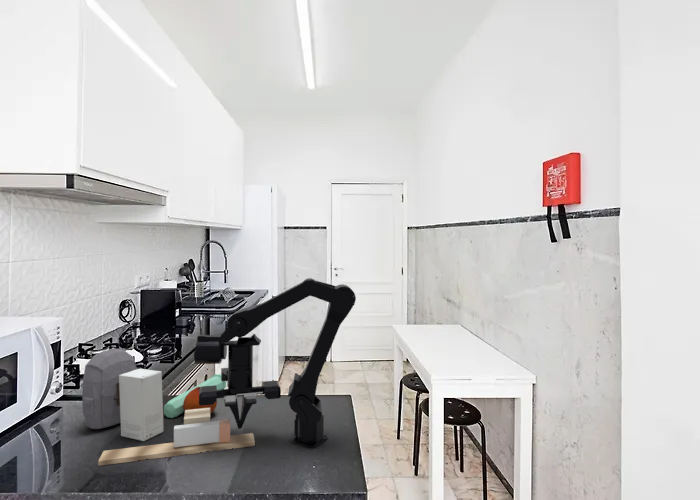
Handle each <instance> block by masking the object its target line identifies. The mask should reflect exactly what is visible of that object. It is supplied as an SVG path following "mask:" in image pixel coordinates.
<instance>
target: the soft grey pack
mask: <svg viewBox="0 0 700 500" xmlns="http://www.w3.org/2000/svg"><path fill="white" fill-rule="evenodd" d="M136 369H138V368H137V365H136V362H135V357H134V356H133V355H131V354H130V353H129V352H127V351H125V350H124V349H122V348H110V349H107V350H102V351H100V352H98V353H97V354H94V355H93V356H92V357H91V358H90V360H89V361H88V362H86V364H85V366H84V373H83V378H82V393H81V394H82V395H81V398H82V399H81V400H82V414H83V417H84V421H85V422H86V424H87V427H88V428H89V429H91V430H101V429H105V428H109V427H111V426H116V425H118V424H121V417H120V390H119V375H121V374H124V373H128V372H131V371H133V370H136Z"/></svg>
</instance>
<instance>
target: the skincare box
mask: <svg viewBox="0 0 700 500" xmlns="http://www.w3.org/2000/svg"><path fill="white" fill-rule="evenodd" d="M162 374H163V372H162V371H160V370H152V369H146V368H137V369H136V370H133V371H131V372H128V373H124V374H121V375H119V390H120V417H121V423H120V437H124V438H129V439H131V440H132V439H133V440H136V441H140V442H145V441H147V440H150V439H151V438H152V439H153V438H154V437H156V436H158V435H160V434H161V433H163V432H164V405H163V402H164V401H163V399H164V398H163V379H162V378H163V375H162Z"/></svg>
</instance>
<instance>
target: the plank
mask: <svg viewBox="0 0 700 500" xmlns="http://www.w3.org/2000/svg"><path fill="white" fill-rule="evenodd" d="M255 442H256V440H255V437H254V433H253V432H249V433H243V434H242V433H241V434H233V435H230V442H222V443H220V442H215V443H207V444H199V445H190V446H182V447H174V441H173V442H167V443H157V444H149V445H139V446H134V447H133V446H132V447H131V446H130V447H125V448H115V449H109V450H108V449H107V450H103V451H102V453H101V455H100V457H99V459H98V462H97V465H98V466H100V467H101V466H107V465H116V464H123V463H129V462H130V463H131V462H139V461H138V460H140V461H145V460H146V459H148V460H154V459H162V458H163V459H164V458H170V457H177V456H185V454H187V455H192V454H193V455H194V454H201V453H200V452H202V453H207V452H206V451H210V452H213V451H212V450H218V451H222V450H221V449H226V450H232V448H233V449H240V448H246V447H247V448H248V447H255V445H256V444H255ZM146 461H147V460H146Z"/></svg>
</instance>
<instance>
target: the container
mask: <svg viewBox="0 0 700 500" xmlns="http://www.w3.org/2000/svg"><path fill="white" fill-rule="evenodd" d="M214 385H217V390H221V389H226V387H227V381H221V373H219V374H218V373H214V374H213V376H211V378H209V379H207V380H205V381H202V382H201V383H200V384H198V385H195V386H193V387H192V388H190V389H188V390H186V391H185V392H183V393H181V394H178V395H177V396H175V397H174V398H171V399H170V400H169V401H167V403H166V404H164V405H163V415H165V416H166V418H170V419H175V418H177V417H179V416H181V415H182V414H184V413H185V411H184V409H183V403H184V399H185V397H186V396H187V395H188V393H189V392H190V391H192V390H193V389H195V388H196V387H202V386H214ZM183 412H184V413H183ZM180 414H181V415H180ZM178 415H179V416H178ZM174 417H175V418H174Z"/></svg>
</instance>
